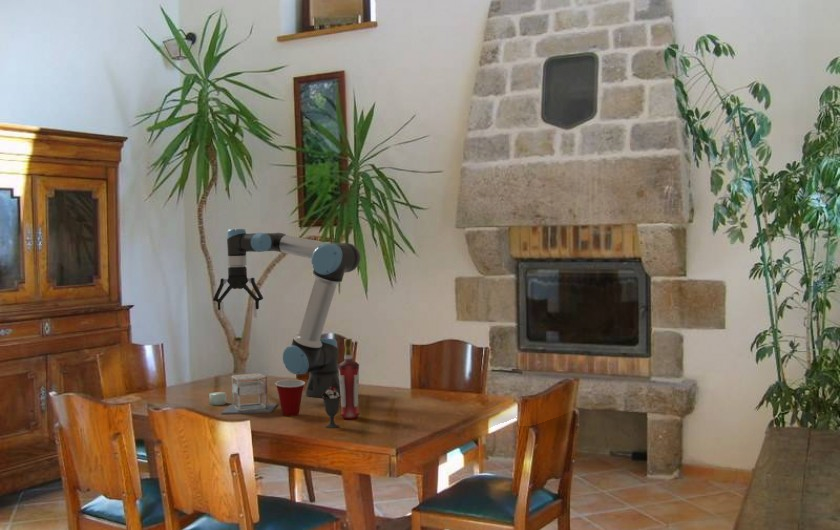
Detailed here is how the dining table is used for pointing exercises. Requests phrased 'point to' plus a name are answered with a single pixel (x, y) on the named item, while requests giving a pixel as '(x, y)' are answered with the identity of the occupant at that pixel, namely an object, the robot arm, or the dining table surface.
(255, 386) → the clear glass cube
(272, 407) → the mat
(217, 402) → the soap bar
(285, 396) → the plastic cup
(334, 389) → the sundae
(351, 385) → the liquor
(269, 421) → the dining table surface
